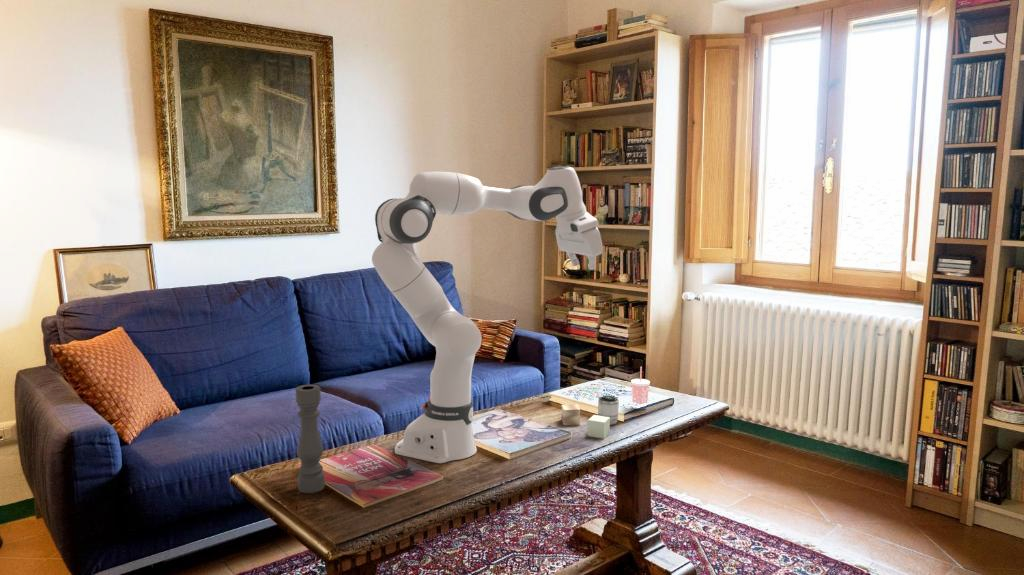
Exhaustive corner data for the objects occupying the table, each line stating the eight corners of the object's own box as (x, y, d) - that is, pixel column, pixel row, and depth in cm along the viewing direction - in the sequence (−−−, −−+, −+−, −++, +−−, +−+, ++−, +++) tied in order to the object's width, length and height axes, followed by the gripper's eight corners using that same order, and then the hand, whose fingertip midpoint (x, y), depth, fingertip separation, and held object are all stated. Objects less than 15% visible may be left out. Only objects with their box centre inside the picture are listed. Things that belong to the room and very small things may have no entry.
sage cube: (587, 436, 212) (588, 419, 211) (593, 430, 216) (593, 414, 215) (603, 439, 210) (604, 422, 209) (609, 433, 214) (609, 417, 213)
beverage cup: (634, 411, 235) (635, 369, 232) (627, 405, 240) (628, 364, 238) (651, 410, 236) (653, 368, 234) (644, 404, 242) (646, 363, 240)
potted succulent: (611, 426, 220) (612, 401, 218) (593, 422, 224) (594, 397, 222) (621, 421, 225) (622, 397, 223) (604, 417, 228) (605, 393, 227)
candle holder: (304, 481, 178) (300, 383, 174) (328, 482, 178) (325, 384, 174) (294, 492, 172) (290, 391, 168) (319, 493, 172) (315, 392, 168)
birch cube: (563, 425, 221) (564, 409, 220) (561, 420, 225) (561, 404, 225) (579, 425, 221) (580, 409, 220) (577, 419, 226) (577, 404, 225)
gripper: (546, 222, 213) (557, 266, 217) (581, 227, 195) (593, 275, 198) (564, 216, 215) (575, 259, 219) (601, 220, 197) (612, 267, 201)
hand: (584, 267), depth 209 cm, fingers open, 8 cm apart
